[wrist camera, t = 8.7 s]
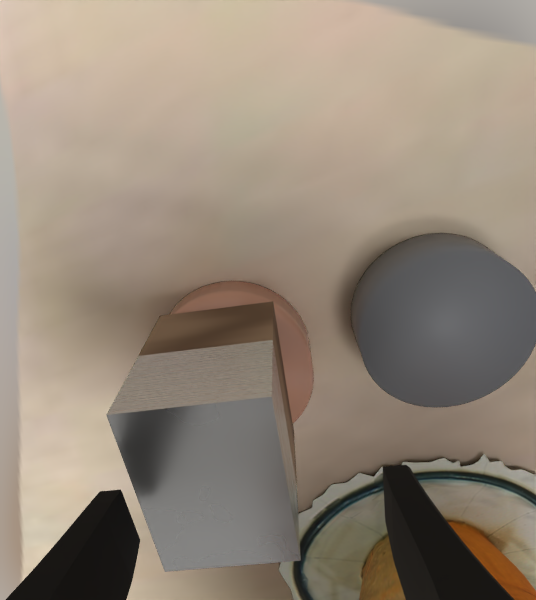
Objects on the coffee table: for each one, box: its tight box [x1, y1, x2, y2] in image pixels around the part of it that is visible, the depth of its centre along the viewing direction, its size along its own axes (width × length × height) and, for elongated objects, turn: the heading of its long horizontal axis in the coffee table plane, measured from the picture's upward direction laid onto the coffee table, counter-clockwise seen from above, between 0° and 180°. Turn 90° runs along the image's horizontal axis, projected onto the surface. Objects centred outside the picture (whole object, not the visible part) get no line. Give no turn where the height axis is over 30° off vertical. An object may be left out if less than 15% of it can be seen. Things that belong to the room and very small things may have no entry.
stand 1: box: [169, 281, 314, 423], centre depth 20 cm, size 7×7×2 cm
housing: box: [107, 301, 301, 572], centre depth 16 cm, size 4×6×6 cm
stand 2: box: [351, 233, 536, 407], centre depth 19 cm, size 7×7×2 cm
